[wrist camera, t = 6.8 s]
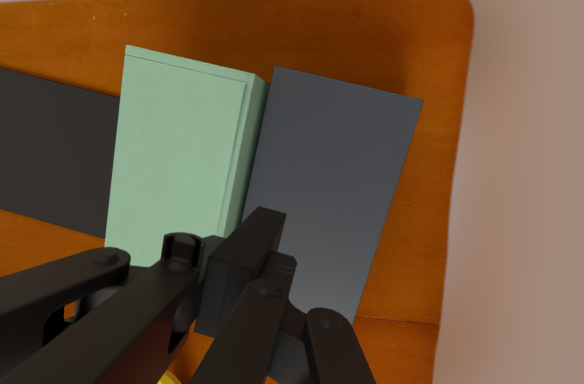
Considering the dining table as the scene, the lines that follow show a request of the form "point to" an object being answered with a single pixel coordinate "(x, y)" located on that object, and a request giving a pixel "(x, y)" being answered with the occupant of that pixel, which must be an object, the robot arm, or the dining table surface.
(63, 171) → the mat
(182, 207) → the open box
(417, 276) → the dining table surface
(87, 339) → the robot arm
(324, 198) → the block
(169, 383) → the banana
